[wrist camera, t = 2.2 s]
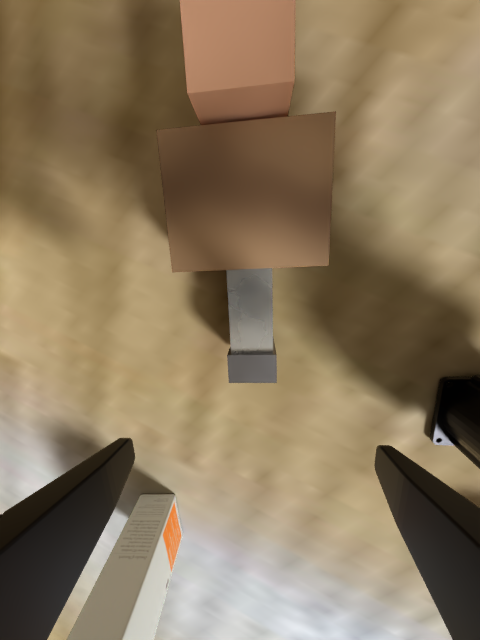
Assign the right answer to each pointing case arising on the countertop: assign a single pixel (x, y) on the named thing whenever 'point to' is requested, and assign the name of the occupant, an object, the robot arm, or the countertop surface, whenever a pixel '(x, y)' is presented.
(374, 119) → the countertop surface
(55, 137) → the countertop surface
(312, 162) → the block
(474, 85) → the countertop surface
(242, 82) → the block
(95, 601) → the skincare box
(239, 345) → the shaft
